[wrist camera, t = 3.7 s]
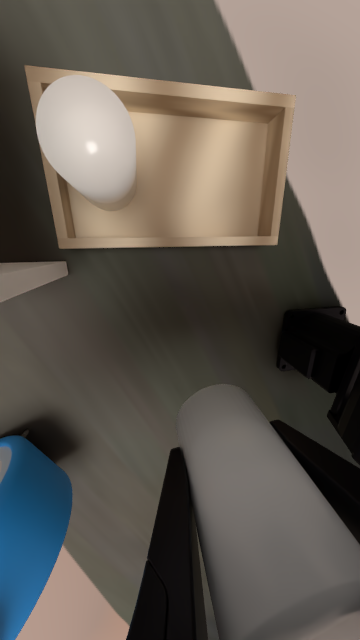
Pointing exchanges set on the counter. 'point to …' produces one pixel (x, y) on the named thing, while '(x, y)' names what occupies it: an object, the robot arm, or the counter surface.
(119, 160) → the white rounded cylinder
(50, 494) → the alarm clock
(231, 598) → the grey rounded cylinder
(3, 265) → the white l-shaped bracket
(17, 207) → the counter surface
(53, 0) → the counter surface
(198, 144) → the tray
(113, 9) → the counter surface
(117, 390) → the counter surface
